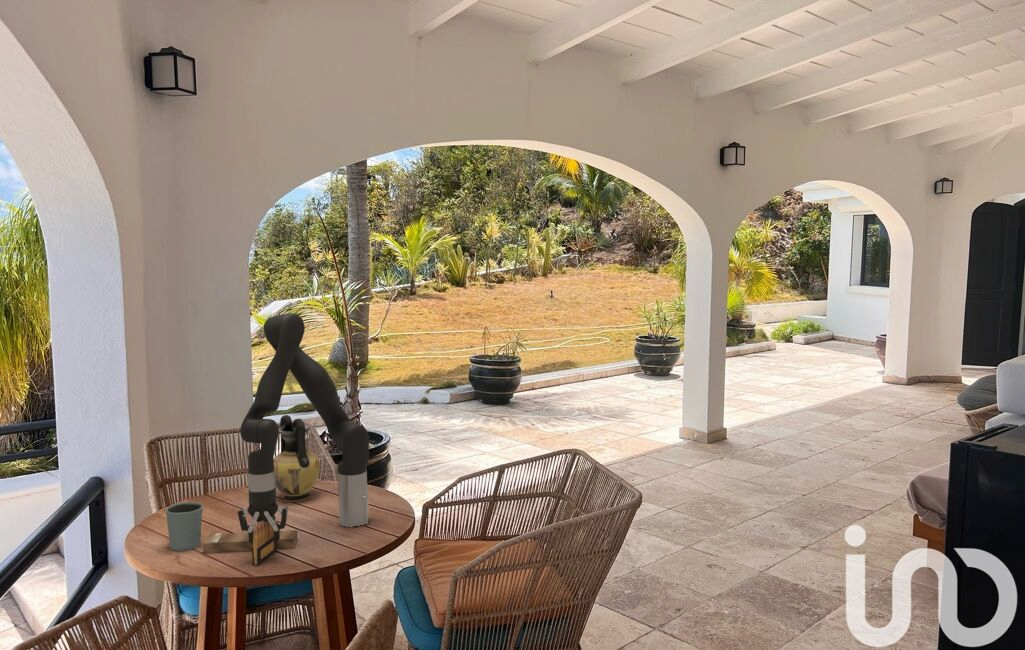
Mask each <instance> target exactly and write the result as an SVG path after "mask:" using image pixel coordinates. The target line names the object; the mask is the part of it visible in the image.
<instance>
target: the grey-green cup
mask: <svg viewBox="0 0 1025 650" xmlns="http://www.w3.org/2000/svg"><path fill="white" fill-rule="evenodd" d="M203 506H204V505H203V504H202V503H200V502H196V501H195V502H193V501H186V502H185V501H184V502H180V503H175V504H172V505H170V506H167V508H165V514H166V521H167V522H166V524H167V529H168V540H169V548H171V549H172V550H171V549H170V550H171V551H173V550H177V551H176V552H184V550H186V551H189V549H191V550H194V549H196V548H198V547H199V546H200V545H201V541H202V521H203V516H202V515H203ZM197 546H198V547H197ZM195 547H196V548H195ZM193 548H194V549H193Z"/></svg>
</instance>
